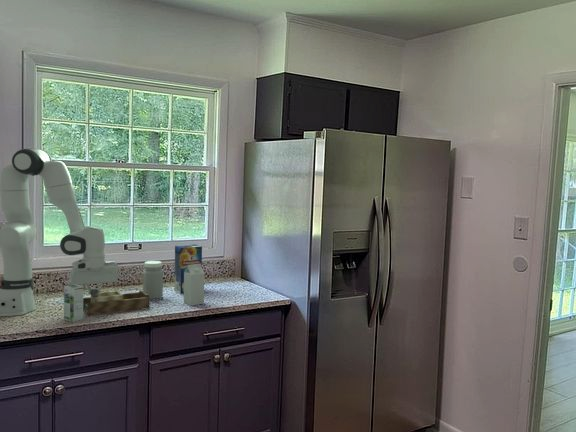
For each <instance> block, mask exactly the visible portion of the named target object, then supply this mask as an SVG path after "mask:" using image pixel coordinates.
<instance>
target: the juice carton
mask: <svg viewBox="0 0 576 432" xmlns="http://www.w3.org/2000/svg"><path fill="white" fill-rule="evenodd" d="M202 262H203V245H198V244H184V245H183V244H182V245H175V246H174V292H176V293H178V294H180V295H184V272H185V270H186V269H187V268H188V265H193V264H201V267H203V264H202Z"/></svg>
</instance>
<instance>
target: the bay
mask: <svg viewBox="0 0 576 432" xmlns="http://www.w3.org/2000/svg"><path fill="white" fill-rule="evenodd" d="M122 294H123V300H116V301H107V302H97V303H91V296H89V297H83V313H85V314H86V315H87V316H89V317H90V316H96V315H97V316H98V315H103V314H111V313H119V312H128V311H138V310H144V309H145V308H146V309H149V308H150V300H149V295H148V294H147V293H145V292H144V291H143V289H142V290H139V291H136V292H135V291H134V292H126V293H122Z"/></svg>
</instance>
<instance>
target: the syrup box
mask: <svg viewBox="0 0 576 432" xmlns="http://www.w3.org/2000/svg"><path fill="white" fill-rule="evenodd" d="M83 298H84V285H77V284H70V283H69V284H66V285H64V286H63V320H65V321H68V322H71V323H72V322H73V323H74V322H77V321H81V320H83V319H84V311H83Z"/></svg>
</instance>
